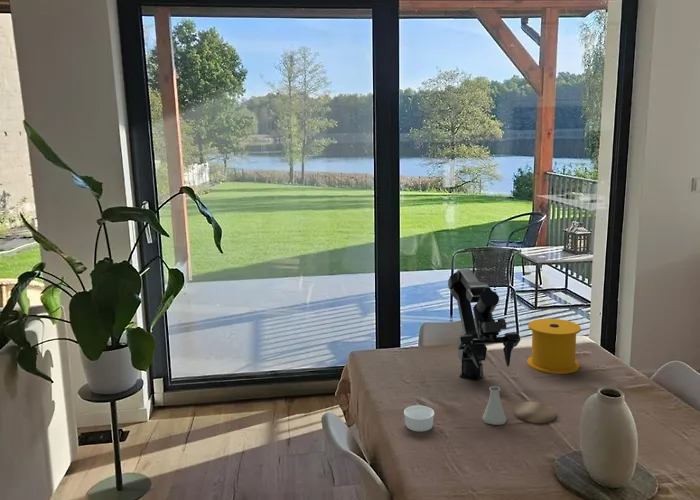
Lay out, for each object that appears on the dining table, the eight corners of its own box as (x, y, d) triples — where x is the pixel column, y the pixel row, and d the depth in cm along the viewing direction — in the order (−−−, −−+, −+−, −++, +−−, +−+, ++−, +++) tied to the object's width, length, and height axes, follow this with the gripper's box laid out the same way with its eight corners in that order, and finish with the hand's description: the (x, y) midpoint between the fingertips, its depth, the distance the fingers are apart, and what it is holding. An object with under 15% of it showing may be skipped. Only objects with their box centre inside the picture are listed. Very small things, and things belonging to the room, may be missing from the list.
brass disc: (508, 416, 173) (508, 413, 173) (521, 402, 183) (521, 398, 182) (548, 427, 166) (549, 423, 166) (560, 411, 176) (561, 407, 175)
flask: (507, 426, 167) (508, 394, 165) (482, 425, 169) (482, 392, 167) (506, 415, 174) (506, 384, 172) (481, 413, 176) (481, 382, 174)
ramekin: (437, 420, 172) (437, 407, 171) (431, 434, 164) (431, 420, 163) (407, 417, 175) (407, 403, 174) (400, 430, 167) (400, 416, 166)
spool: (583, 360, 215) (585, 322, 212) (573, 377, 200) (575, 336, 197) (534, 353, 225) (535, 315, 222) (521, 368, 210) (522, 328, 207)
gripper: (459, 310, 178) (468, 358, 170) (519, 308, 179) (531, 355, 171) (453, 325, 187) (461, 372, 179) (510, 323, 188) (520, 369, 180)
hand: (493, 367), depth 177 cm, fingers open, 9 cm apart
